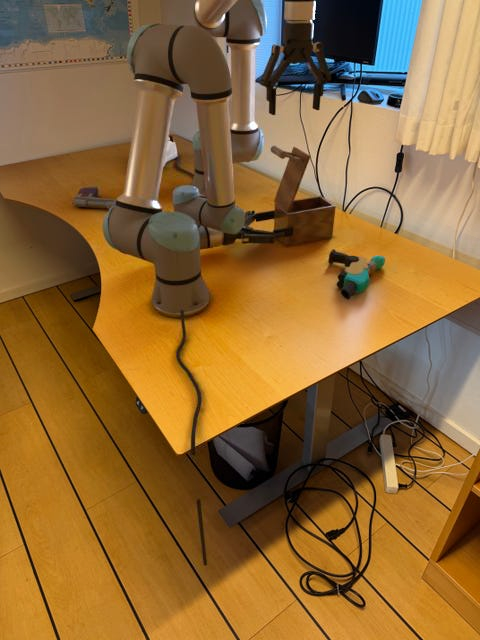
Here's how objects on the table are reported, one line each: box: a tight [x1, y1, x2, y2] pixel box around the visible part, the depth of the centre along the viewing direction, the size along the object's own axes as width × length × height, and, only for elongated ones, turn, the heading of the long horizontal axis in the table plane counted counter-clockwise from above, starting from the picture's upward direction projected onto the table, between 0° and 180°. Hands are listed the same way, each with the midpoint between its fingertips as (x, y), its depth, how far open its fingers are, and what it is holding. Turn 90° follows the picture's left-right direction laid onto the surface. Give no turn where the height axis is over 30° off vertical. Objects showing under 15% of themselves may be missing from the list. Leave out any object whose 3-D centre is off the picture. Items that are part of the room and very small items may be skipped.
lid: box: [270, 145, 312, 213], centre depth 142 cm, size 18×10×9 cm
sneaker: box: [163, 134, 178, 168], centre depth 214 cm, size 10×29×12 cm, turn 163°
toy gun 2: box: [328, 248, 386, 301], centre depth 133 cm, size 4×26×15 cm
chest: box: [273, 195, 337, 247], centre depth 153 cm, size 17×10×11 cm, turn 112°
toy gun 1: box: [71, 186, 116, 210], centre depth 180 cm, size 4×19×15 cm
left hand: (283, 222), depth 151 cm, fingers open, 13 cm apart
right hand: (294, 111), depth 132 cm, fingers open, 13 cm apart
